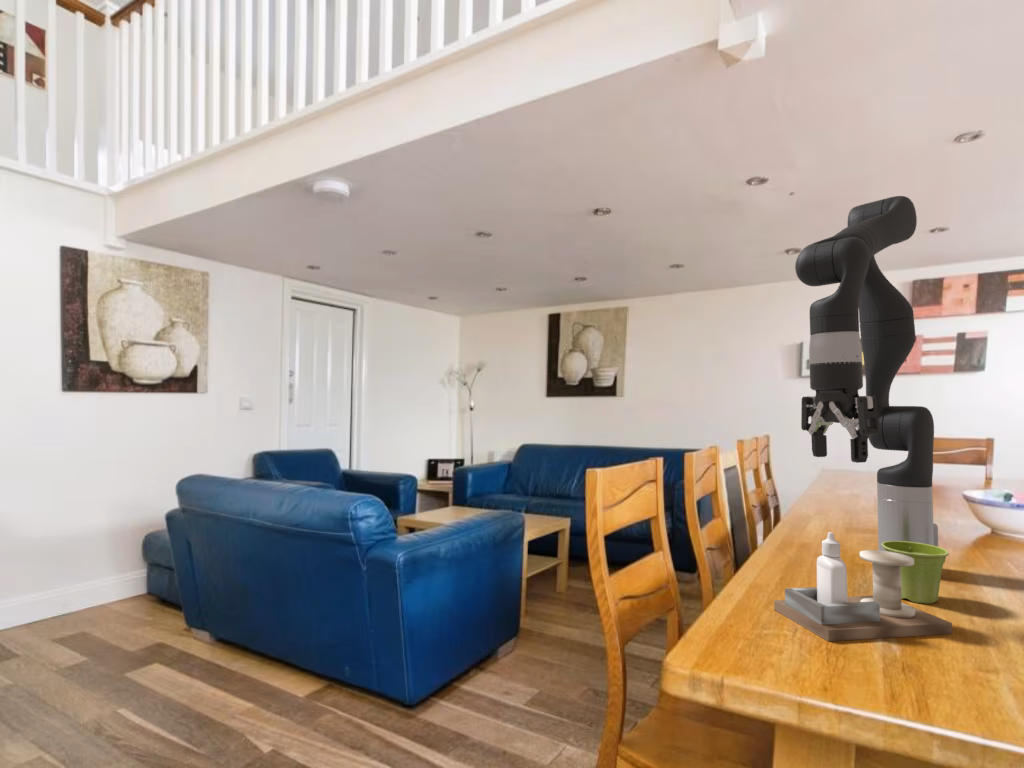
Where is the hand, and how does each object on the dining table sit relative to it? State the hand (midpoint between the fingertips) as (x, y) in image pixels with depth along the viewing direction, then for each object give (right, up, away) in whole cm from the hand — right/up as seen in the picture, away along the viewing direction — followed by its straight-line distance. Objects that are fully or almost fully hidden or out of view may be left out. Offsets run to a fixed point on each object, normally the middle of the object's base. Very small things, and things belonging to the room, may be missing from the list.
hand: (838, 459), depth 90 cm
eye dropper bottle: (-5, -23, -7) cm, 24 cm away
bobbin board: (-1, -24, -6) cm, 25 cm away
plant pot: (+16, -25, +4) cm, 30 cm away
